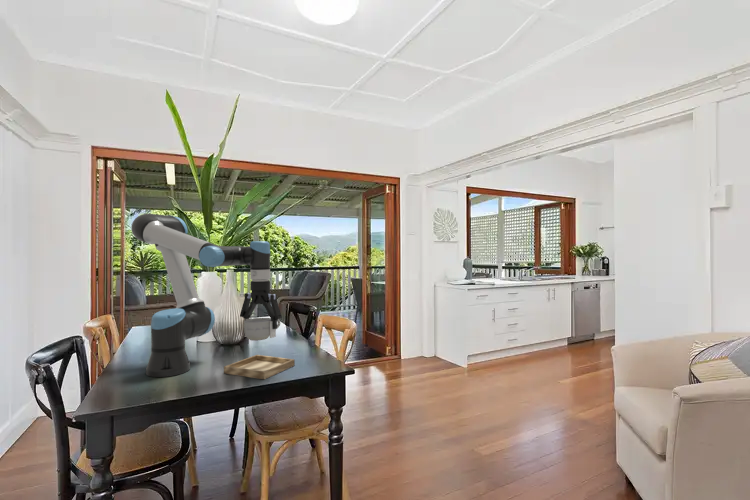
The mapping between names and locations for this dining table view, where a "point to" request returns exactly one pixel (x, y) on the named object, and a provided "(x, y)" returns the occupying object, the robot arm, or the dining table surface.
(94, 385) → the dining table surface
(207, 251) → the robot arm
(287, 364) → the serving tray
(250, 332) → the teacup
